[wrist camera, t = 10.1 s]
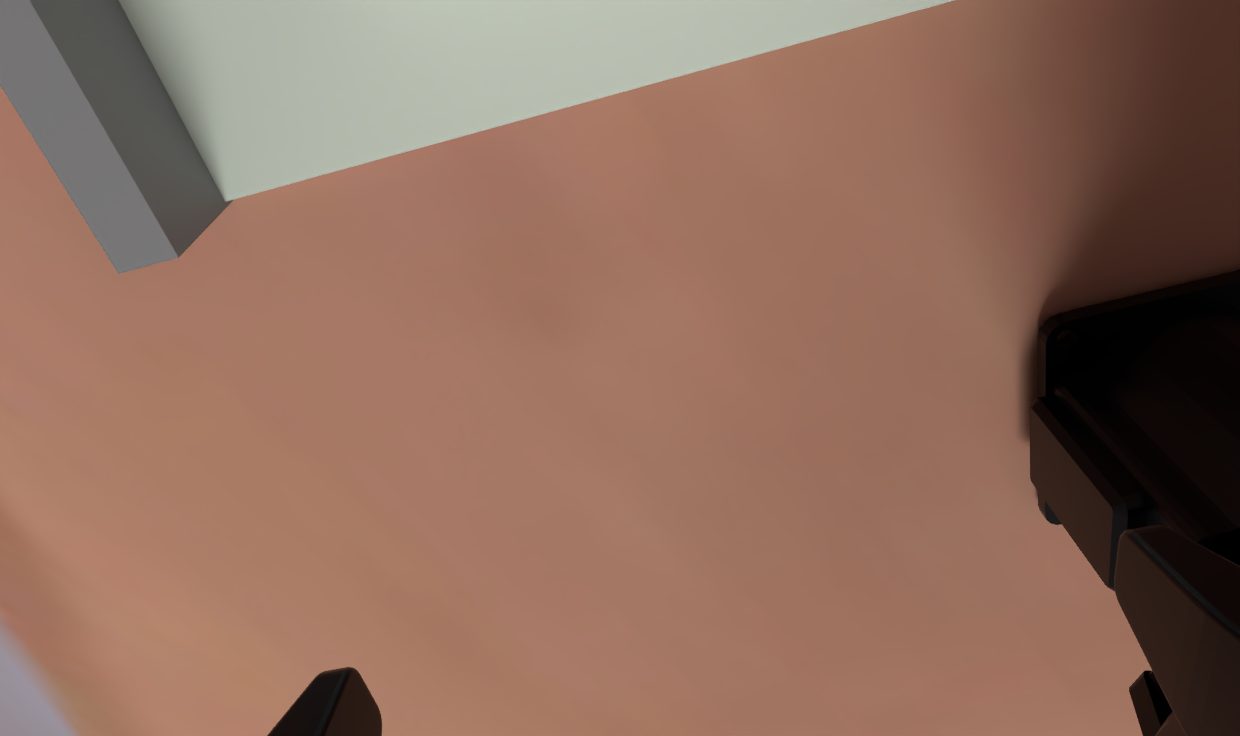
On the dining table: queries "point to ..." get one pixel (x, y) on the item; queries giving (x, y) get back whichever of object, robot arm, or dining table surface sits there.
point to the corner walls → (107, 127)
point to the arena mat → (432, 67)
